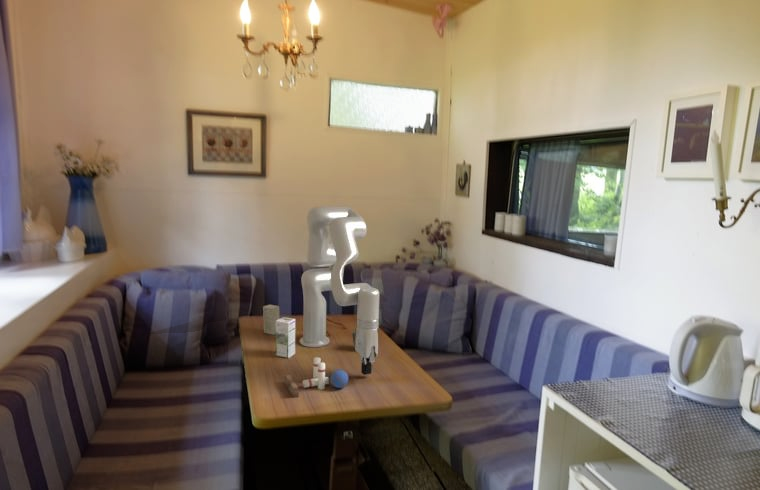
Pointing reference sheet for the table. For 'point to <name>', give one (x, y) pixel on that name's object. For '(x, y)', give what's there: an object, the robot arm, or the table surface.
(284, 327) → the syrup box
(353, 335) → the cup
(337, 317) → the table surface
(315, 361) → the pin
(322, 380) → the pin
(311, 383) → the front pin
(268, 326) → the skincare box
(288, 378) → the back wall
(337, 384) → the ball
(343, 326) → the glasses
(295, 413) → the table surface
